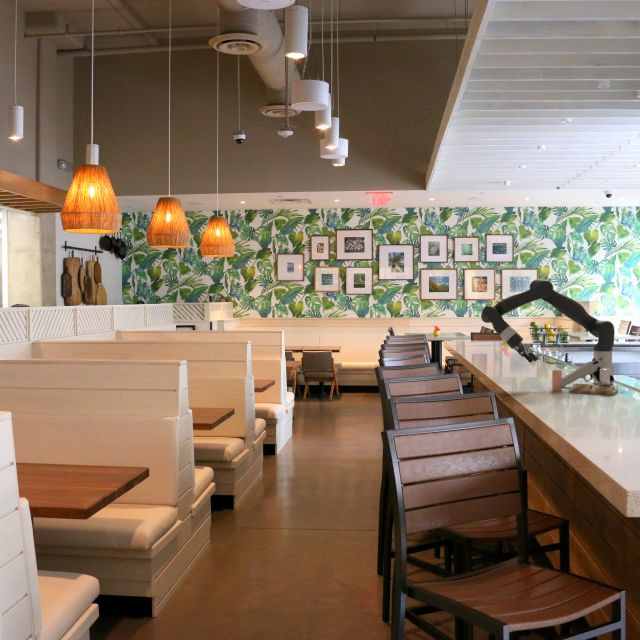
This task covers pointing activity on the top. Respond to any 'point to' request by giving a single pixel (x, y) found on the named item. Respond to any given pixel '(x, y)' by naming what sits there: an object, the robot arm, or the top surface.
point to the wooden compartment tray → (593, 389)
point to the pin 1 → (556, 380)
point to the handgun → (586, 372)
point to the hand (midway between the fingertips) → (534, 361)
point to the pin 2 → (604, 377)
